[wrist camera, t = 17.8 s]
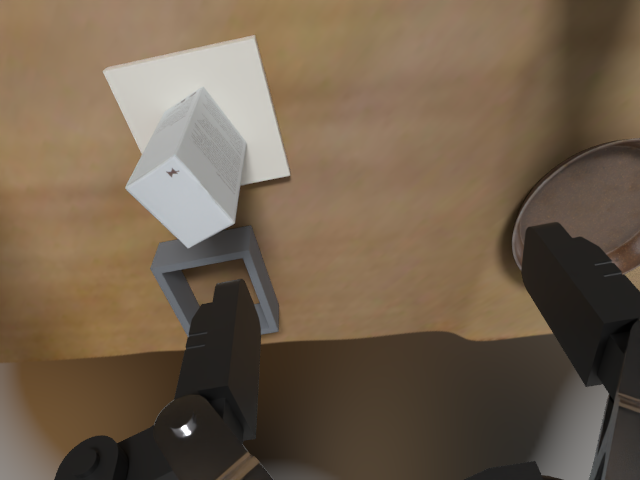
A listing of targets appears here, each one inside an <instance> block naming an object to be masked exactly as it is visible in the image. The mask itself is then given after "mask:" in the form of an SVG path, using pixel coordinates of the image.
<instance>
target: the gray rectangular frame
mask: <svg viewBox="0 0 640 480" xmlns="http://www.w3.org/2000/svg"><path fill="white" fill-rule="evenodd" d="M240 258H243V260H244V262H245V265H246V268H247V270H248V273H249V276H250V278H251V281H252V283H253V286H254V289H255V291H256V294H257V296H258V299H259V302H260V303H259V304H254V306H255V309H256V311H257V314H258V317H259V321H260V327H261V334H267V333H273V332H278V330H279V304H278V301H277V298H276V295H275V293H274V290H273V287H272V284H271V281H270V278H269V275H268V272H267V269H266V267H265V264H264V261H263V258H262V255H261V252H260V249H259V246H258V244H257V241H256V238H255V235H254V232H253V229H252V226H251V225H250V226H245V227H240V228H235V229H229V230H224V231H220V232H218V233H216V234H215V235H213V236H211V237H209V238H207V239H205V240H203V241H201V242H199V243H198V244H196V245H194V246H192V247H190V248H187V247H186V246H185V245H184V244H183V243H182V242H181V241H180V240H179V239H177V240H172V241H167V242H162V243H159V246H158V249H157V251H156V254H155V257H154V260H153V262H152V265H151V268H150V269H151V271H152V273H153V274H154V276H155V278H156V280H157V282H158V283H159V285H160V287H161V289H162V291H163V292H164V294H165V296H166V298H167V300H168V301H169V303H170V305H171V307H172V309H173V310H174V312H175V314H176V316H177V318H178V319H179V321H180V323H181V325H182V327H183V329H184V330H185V332H186V334H187V336H188V337H189V335H188V334H189V330H190V325H191V320H192V318H193V317H194V315H195V314H196V312H197V311H198V309H199V308H200V306H199V304H198V302H197V300H196V298H195V296H194V294H193V292H192V290H191V288H190V286H189V284H188V282H187V280H186V278H185V276H184V274H183V272H182V269H187V268H192V267H198V266H203V265H208V264H214V263H219V262H224V261H230V260H235V259H240Z"/></svg>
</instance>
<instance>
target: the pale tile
mask: <svg viewBox="0 0 640 480" xmlns="http://www.w3.org/2000/svg"><path fill="white" fill-rule="evenodd" d="M103 73H104V75H105V77H106V79H107V81H108V83H109V85H110V88H111V90H112V92H113V94H114V96H115V98H116V100H117V102H118V104H119V107H120V109H121V111H122V113H123V115H124V117H125V119H126V121H127V124H128V126H129V128H130V130H131V132H132V134H133V136H134V138H135V141H136V143H137V145H138V147H139V149H140V151H141V153H142V154H143V152H144V150H145V148H146V146H147V144H148V142H149V141H150V139H151V137H152V135H153V133H154V131H155V129H156V127H157V125H158V123H159V121H160V119H161V118H162V115H163V114H164V112H165V111H167V110H168V109H170V108H171V107H173V106H174V105H176V104H177V103H179V102H180V101H182V100H183V99H184V98H186V97H187V96H189V95H191V94H192V93H194V92H195V91H197V90H198V89H200V88H201V87H204V88H205V89H206V91H207V92H208V93H209V94H210V96H211V97H212V98H213V100H214V101H215V102H216V104H217V105H218V106H219V107H220V109H221V110H222V111H223V113H224V114H225V115H226V116H227V118H228V119H229V120H230V122H231V123H232V124H233V126H234V127H235V128H236V130H237V131H238V132H239V133H240V135H241V136H242V137H243V139H244V140H245V141H246V143H247V145H246V152H245V158H244V165H243V171H242V178H241V185H245V184H250V183H255V182H260V181H265V180H270V179H276V178H281V177H286V176H290V168H289V164H288V160H287V156H286V152H285V148H284V144H283V141H282V137H281V133H280V129H279V125H278V121H277V117H276V113H275V110H274V106H273V102H272V98H271V94H270V90H269V86H268V83H267V79H266V75H265V71H264V67H263V63H262V59H261V55H260V52H259V48H258V44H257V40H256V36H255V35H252V36H248V37H243V38H239V39H234V40H230V41H225V42H220V43H216V44H211V45H207V46H202V47H198V48H193V49H188V50H184V51H179V52H175V53H170V54H166V55H161V56H156V57H152V58H147V59H143V60H138V61H134V62H129V63H124V64H120V65H115V66H111V67H107V68H106V69H105V70H104V71H103Z"/></svg>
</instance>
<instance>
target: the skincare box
mask: <svg viewBox="0 0 640 480" xmlns="http://www.w3.org/2000/svg"><path fill="white" fill-rule="evenodd" d="M246 145H247V143H246V141H245V140H244V139H243V137H242V136H241V135H240V133H239V132H238V131H237V130H236V128H235V127H234V126H233V124H232V123H231V122H230V120H229V119H228V118H227V116H226V115H225V114H224V113H223V111H222V110H221V109H220V107H219V106H218V105H217V104H216V102H215V101H214V100H213V98H212V97H211V96H210V94H209V93H208V92H207V91H206V89H205V88H204V87H201V88H200V89H198V90H197V91H195V92H194V93H192V94H191V95H189V96H187V97H186V98H184V99H183V100H182V101H180V102H179V103H177V104H176V105H174V106H173V107H171V108H170V109H168V110H167V111H165V112H164V114H163V115H162V118H161V119H160V121H159V123H158V125H157V127H156V129H155V131H154V133H153V135H152V137H151V139H150V141H149V142H148V144H147V146H146V148H145V150H144V152H143V154H142V156H141V158H140V160H139V162H138V164H137V166H136V167H135V169H134V171H133V173H132V175H131V177H130V179H129V181H128V183H127V185H126V190H127V191H128V192H129V193H130V194H131V195H132V196H133V197H134V198H136V199H137V200H138V201H139V202H140V203H141V204H142V205H143V206H144V207H145V208H146V209H147V210H148V211H149V212H150V213H151V214H152V215H153V216H154V217H155V218H157V219H158V220H159V221H160V222H161V223H162V224H163V225H164V226H165V227H166V228H167V229H168V230H169V231H170V232H171V233H172V234H173V235H174V236H175V237H176V238H178V239H179V240H180V241H181V242H182V243H183V244H184V245H185V246H186V247H187V248H190V247H192V246H194V245H196V244H198V243H199V242H201V241H203V240H205V239H207V238H209V237H211V236H213V235H215V234H216V233H218V232H220V231H222V230H224V229H226V228H228V227H230V226H232V225H233V224H235V220H236V213H237V205H238V198H239V191H240V185H241V178H242V171H243V165H244V158H245V152H246Z"/></svg>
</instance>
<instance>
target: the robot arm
mask: <svg viewBox="0 0 640 480" xmlns="http://www.w3.org/2000/svg"><path fill="white" fill-rule="evenodd" d="M521 270H522V278H523V282H524V285H525V287H526V289H527V291H528V293H529V294H530V296H531V298H532V299H533V301H534V303H535V304H536V306H537V307H538V309H539V311H540V312H541V314H542V316H543V317H544V319H545V321H546V322H547V324H548V325H549V327H550V329H551V330H552V332H553V334H554V335H555V337H556V338H557V340H558V342H559V343H560V345H561V347H562V348H563V350H564V352H565V353H566V355H567V356H568V358H569V360H570V361H571V363H572V365H573V366H574V368H575V370H576V371H577V373H578V374H579V376H580V378H581V379H582V381H583V383H584V384H585V386H586V387H587V386H594V385H601V384H603V385H604V386H605V388H606V390H607V391H608V393H609V395H608V398H607V402H606V407H605V411H604V415H603V420H602V425H601V429H600V434H599V439H598V444H597V448H596V453H595V458H594V462H593V466H592V470H591V473H590V477H589V480H640V291H639V290H638V289H637V288H636V287H635V286H634V285H633V284H632V283H631V281H630V280H629V279H628V278H627V277H626V276H625V275H624V274H623V275H622V271H621V270H620V269H619V268H618V267H617V266H616V265H615V263H612V260H611V259H610V258H609V257H608V256H607V255H606V253H605V252H604V251H603V250H602V249H601V248H600V247H599V246H597V245H596V244H594V243H592V242H590V241H589V240H587V239H585V238H583V237H581V236H580V237H575V238H572V237H571V236H570V235H569V233H568V232H567V231H566V230H565V229H564V227H563V226H562V225H561V224H560V223H558V222H552V223H547V224H541V225H536V226H530V227H528V228H527V229H526V232H525V240H524V249H523V259H522V269H521ZM188 335H189V337H188V339H187V343H186V350H185V353H184V357H183V362H182V366H181V371H180V376H179V381H178V385H177V389H176V394H175V398H174V400H173V401H172V402H170V403H169V404H168V405H167V406H166V407H165V408H164V409H163V410H162V411H161V412H160V414H159V415H158V417H157V419H156V421H155V424H154V425H153V426H152V427H150V428H148V429H146V430H144V431H142V432H140V433H138V434H136V435H134V436H132V437H129V438H127V439H125V440H123V441H121V442H119V443H116V442H115V441H114V440H113V439H112V438H110V437H108V436H95V437H91V438H89V439H87V440H85V441H83V442H81V443H80V444H79V445H77V446H76V447H74V449H72V450H71V451H70V452H69V453H68V454H67V456H66V457H65V458H64V460H63V461H62V463H61V464H60V466H59V468H58V471H57V473H56V477H55V479H54V480H273V478H272V477H271V476H270V475H269V473H268V472H267V471H266V470H265V469H264V467H263V466H262V465H261V463H260V462H259V461H258V460H257V459H256V458H255V457H254V456H253V455H250V453H249V452H248V451H247V450H246V449H245V447H244V446H243V441H244V440H250V439H255V438H256V422H257V403H258V384H259V364H260V346H261V327H260V321H259V317H258V314H257V311H256V309H255V306H254V303H253V301H252V298H251V296H250V293H249V291H248V288H247V286H246V283H245V281H244V280H243V279H238V280H233V281H227V282H222V283H217V284H216V287H215V292H214V297H213V302H212V303H207V304H202V305H201V306H200V308H199V309H198V311H197V312H196V314H195V315H194V317H193V318H192V320H191V325H190V330H189V334H188ZM465 480H562V479H559V478H554V477H550V476H544V475H541V473H540V471H539V468H538V466H537V464H536V462H535V461H533V462H527V463H520V464H513V465H507V466H501V467H493V468H488V469H486V470H484V471H482V472H480V473H477V474H475V475H473V476H471V477H469V478H467V479H465Z"/></svg>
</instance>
